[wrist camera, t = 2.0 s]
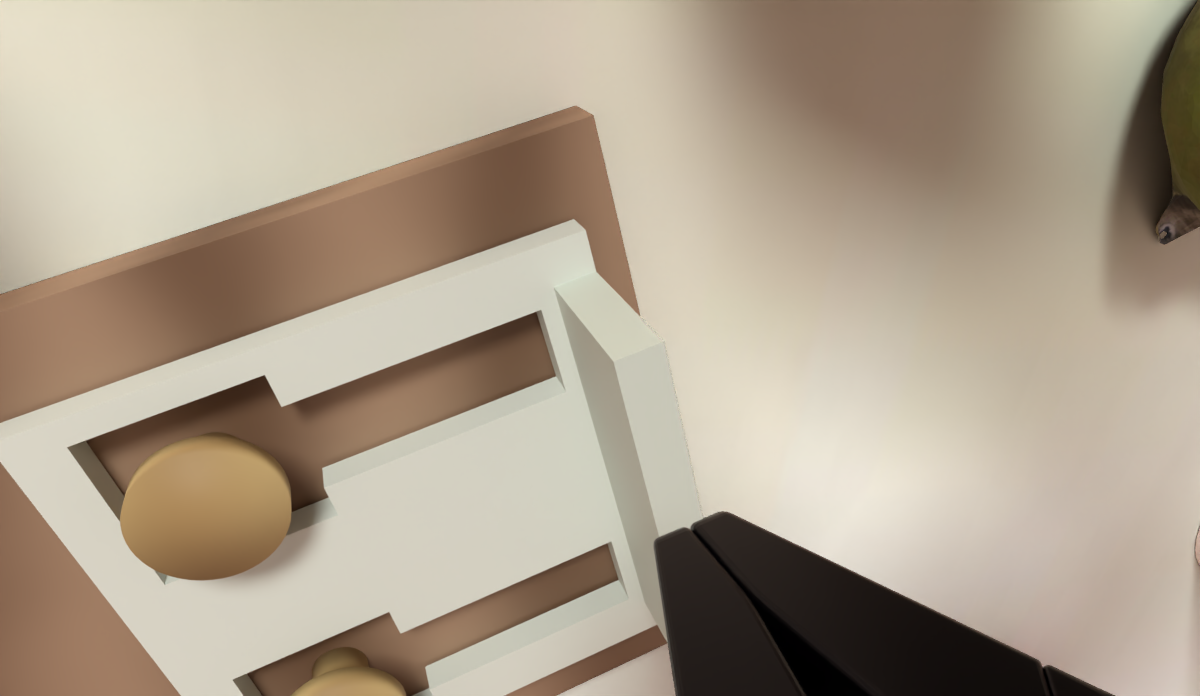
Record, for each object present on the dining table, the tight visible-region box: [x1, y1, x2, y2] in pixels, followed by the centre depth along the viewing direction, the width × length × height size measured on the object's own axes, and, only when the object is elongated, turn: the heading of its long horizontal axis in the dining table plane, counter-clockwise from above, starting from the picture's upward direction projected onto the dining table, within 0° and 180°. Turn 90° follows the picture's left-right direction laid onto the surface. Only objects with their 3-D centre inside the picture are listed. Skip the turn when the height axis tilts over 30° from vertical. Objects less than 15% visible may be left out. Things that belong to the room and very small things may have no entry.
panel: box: [0, 219, 703, 696], centre depth 18 cm, size 12×12×4 cm
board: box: [0, 106, 667, 696], centre depth 19 cm, size 19×16×3 cm
